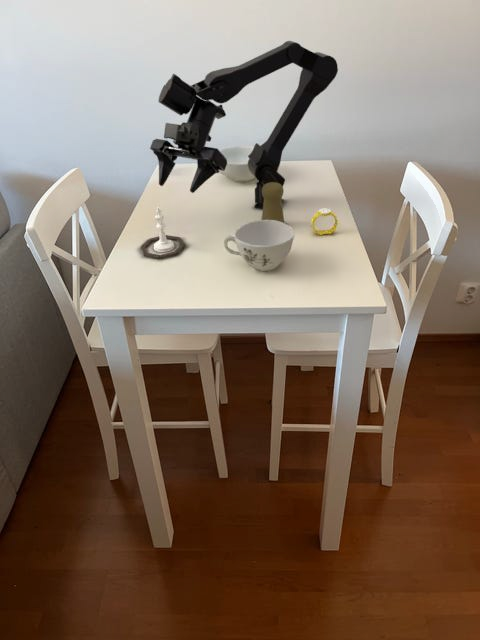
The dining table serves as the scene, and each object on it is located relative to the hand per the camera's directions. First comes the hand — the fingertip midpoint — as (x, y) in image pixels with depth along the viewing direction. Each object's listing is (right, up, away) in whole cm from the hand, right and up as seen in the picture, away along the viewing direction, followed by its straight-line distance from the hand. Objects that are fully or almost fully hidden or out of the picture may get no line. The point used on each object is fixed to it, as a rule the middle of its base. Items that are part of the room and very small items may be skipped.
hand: (175, 188), depth 108 cm
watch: (+35, -10, +5) cm, 37 cm away
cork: (+23, -7, +9) cm, 26 cm away
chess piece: (-3, -13, +3) cm, 14 cm away
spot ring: (-3, -13, +3) cm, 14 cm away
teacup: (+19, -18, -5) cm, 27 cm away
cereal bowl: (+16, +14, +36) cm, 42 cm away
